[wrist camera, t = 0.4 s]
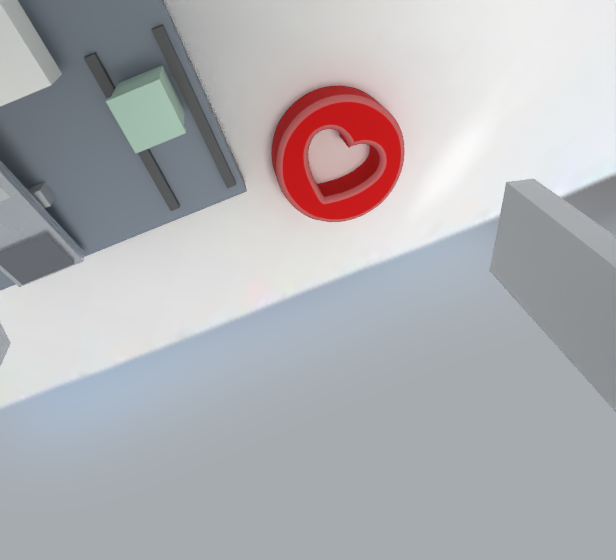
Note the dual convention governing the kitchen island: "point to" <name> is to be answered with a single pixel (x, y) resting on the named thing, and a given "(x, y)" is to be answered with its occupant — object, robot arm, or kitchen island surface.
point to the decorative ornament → (353, 130)
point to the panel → (112, 126)
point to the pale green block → (147, 109)
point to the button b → (22, 55)
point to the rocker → (30, 235)
